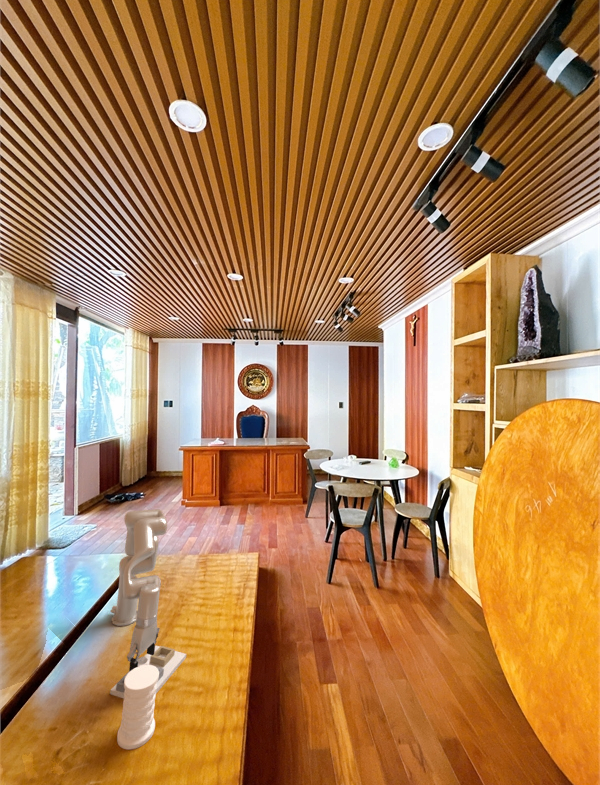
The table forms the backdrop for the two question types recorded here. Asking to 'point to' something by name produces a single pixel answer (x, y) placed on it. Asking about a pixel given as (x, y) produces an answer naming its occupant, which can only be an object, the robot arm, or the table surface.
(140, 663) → the pipe fitting
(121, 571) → the robot arm
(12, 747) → the table surface
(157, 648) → the board
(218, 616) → the table surface
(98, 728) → the table surface
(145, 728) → the white carved column
